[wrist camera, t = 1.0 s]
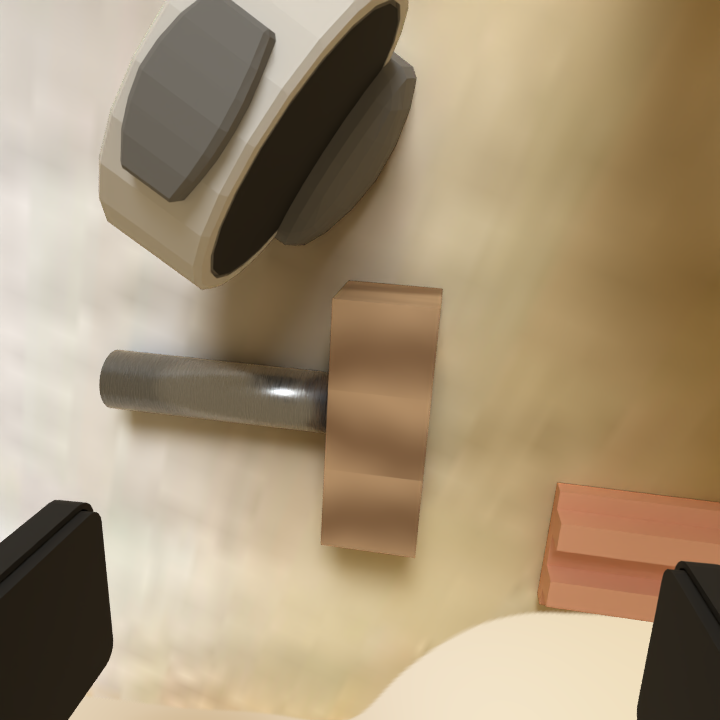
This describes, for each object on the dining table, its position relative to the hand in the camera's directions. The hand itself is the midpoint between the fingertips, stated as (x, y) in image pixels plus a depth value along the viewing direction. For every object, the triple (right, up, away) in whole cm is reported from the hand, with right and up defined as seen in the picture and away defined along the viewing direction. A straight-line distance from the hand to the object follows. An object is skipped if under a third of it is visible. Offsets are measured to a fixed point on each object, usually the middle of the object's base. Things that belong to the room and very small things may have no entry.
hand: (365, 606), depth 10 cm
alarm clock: (-3, +18, +27) cm, 33 cm away
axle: (-7, +2, +31) cm, 32 cm away
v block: (+19, -9, +32) cm, 38 cm away
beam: (+2, +1, +31) cm, 32 cm away
